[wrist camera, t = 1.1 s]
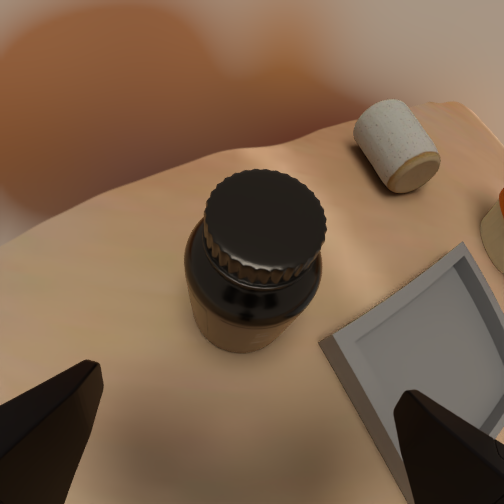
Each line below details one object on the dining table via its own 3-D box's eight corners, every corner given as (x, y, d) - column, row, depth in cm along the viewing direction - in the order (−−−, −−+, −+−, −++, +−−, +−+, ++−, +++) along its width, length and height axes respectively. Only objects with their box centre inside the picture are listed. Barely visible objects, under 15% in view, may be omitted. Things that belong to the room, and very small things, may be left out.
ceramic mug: (378, 202, 29) (417, 151, 22) (342, 145, 32) (368, 93, 25) (437, 192, 32) (472, 152, 25) (403, 144, 35) (430, 102, 28)
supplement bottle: (285, 269, 24) (344, 164, 13) (284, 356, 21) (363, 309, 10) (197, 260, 23) (194, 143, 13) (186, 349, 20) (162, 292, 9)
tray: (512, 385, 21) (530, 380, 18) (410, 507, 15) (429, 513, 13) (446, 253, 27) (462, 241, 25) (318, 342, 21) (332, 334, 19)
